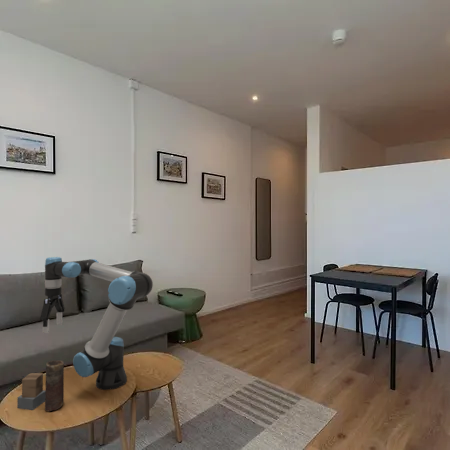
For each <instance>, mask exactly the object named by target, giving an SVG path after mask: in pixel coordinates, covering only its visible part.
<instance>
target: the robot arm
mask: <svg viewBox="0 0 450 450" xmlns="http://www.w3.org/2000/svg"><path fill="white" fill-rule="evenodd" d="M44 272H45V273H44V287H45V288H44V295H45V296H46V297H47V299H46V298H44V300H43V306H42V310H41V314H40V317H39V320H40V321H42V334H49V333H50V319H49V318H50V315H51V313H52V310H53V308H55V309H56V324H55V325H56V326H62V325H63V313H64V312H65V309H66V308H65V304H64V300H63V294H62V282H63V281H62V278H69V279H70V278H76V277H78V276H83V275H89V276H91V277H95V278H98V279H101V280H105V281H108V282H110V284H109V285H108V289H107V293H108V294H107V296H108V302H109V304H108V306H107V308H106V310H105V312H104V314H103V316H102V317H101V318H102V319H100V323H99V324H98V327H97V328H96V330H95V331H94V334H93V336H92V338H91V340H89V341H87V342H86V343H85V345H84V347H83V349H82V350H81V351H79V352H77V353H76V354H75V355H74V356H73V359H72V363H73V369H74V371H75V372H76V373H77V375H79V376H80V377H81V378H88V377H90V376H93V375H94V374H96V373H97V376H96V379H95V387H96V388H97V389H99V390H103V391H108V390H115V389H118V388H121V387H123V386H124V385H125V384H126V383H127V380H128V376H127V373H126V370H125V367H124V347H125V344H124V339H123V338H122V337H118V336H115V335H116V334H117V331H118V330H119V328H120V326H121V324H122V321H123V320H124V317H125V316H126V314H127V312H128V311H130V310H132V309H133V307H134V305H135V304H136V302H137V300H139V299H144V297H147V296H148V295H149V294H150V293H151V292H152V290H153V286H154V284H153V280H152V279H153V278H151V276H150V275H148V274H147V273H144V272H141V271H137V270H133V271H130V270H126V269H123V268H119V267H114V266H111V265H108V264H104V263H101V262H99V261H98V259H93V258H91V259H85V260H84V259H83V260H76V261H75V260H73V261H62V257H60V256H51V257H46V258H45V262H44Z"/></svg>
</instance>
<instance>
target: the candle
mask: <svg viewBox="0 0 450 450" xmlns="http://www.w3.org/2000/svg"><path fill="white" fill-rule="evenodd" d="M64 365H65V363H64V360H55V359H54V360H50V361H46V364H45V389H44V390H45V402H44V404H45V405H44V410H45V411H46V412H51V411H56V410H58V409H60V408H62V406H63V405H64V403H65V402H64V400H65V398H64V397H65V396H64V393H65V391H64V387H65V386H64V382H65V379H64V377H65V376H64V375H65V374H64V373H65V367H64Z"/></svg>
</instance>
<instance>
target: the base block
mask: <svg viewBox="0 0 450 450" xmlns="http://www.w3.org/2000/svg"><path fill="white" fill-rule="evenodd" d="M45 390H46V389H43V391H42V392H41V393H40V394H39V395H38V396H37V397H22V394H20V395H19V396H18V397H17V398H16V399H17V402H16V404H17V406H16V407H17V409H20V410H21V409H22V410H27V411H28V410H29V411H34V410H35V409H37V408H38V407H39V406H41V405H42V404H43V403H44V404H45Z"/></svg>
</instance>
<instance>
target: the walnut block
mask: <svg viewBox="0 0 450 450" xmlns="http://www.w3.org/2000/svg"><path fill="white" fill-rule="evenodd" d="M43 390H44V373H42V372H37V373H35V372H33V373H31V372H30V373H29V374H27V375H26V376H25V377H23V378H22V379H21V395H22V397H37V396H38V395H39V394H40V393H41V392H42V391H43Z"/></svg>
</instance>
